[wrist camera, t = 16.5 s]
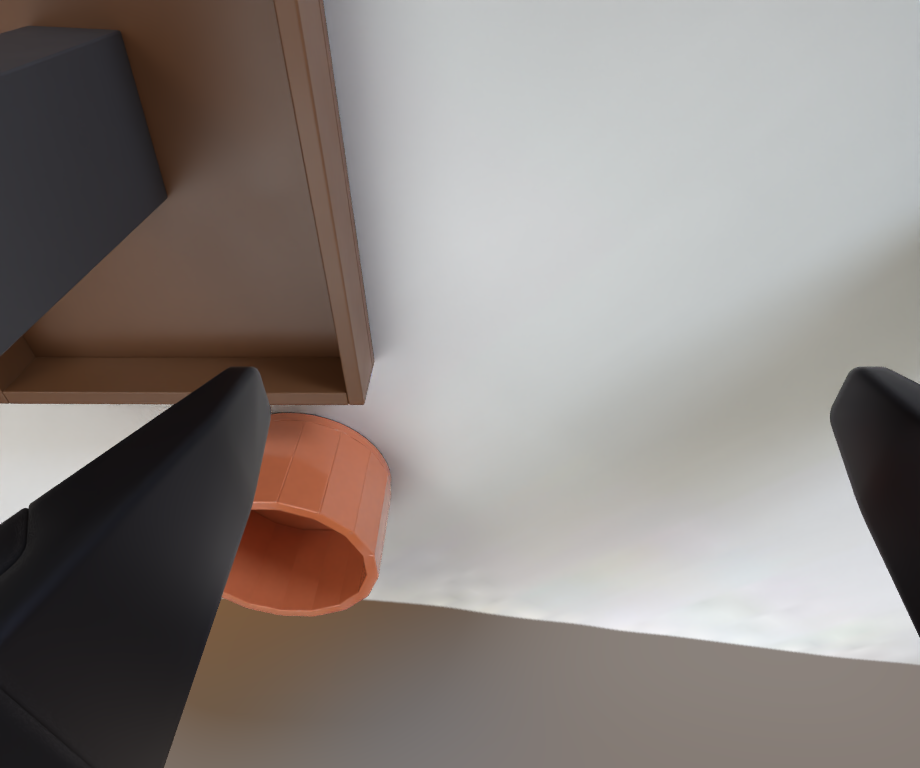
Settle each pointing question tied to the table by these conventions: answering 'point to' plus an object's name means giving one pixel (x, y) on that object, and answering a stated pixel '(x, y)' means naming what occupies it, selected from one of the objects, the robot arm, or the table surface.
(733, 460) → the table surface
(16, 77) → the dark grey block
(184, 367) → the tray
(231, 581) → the holder cup
